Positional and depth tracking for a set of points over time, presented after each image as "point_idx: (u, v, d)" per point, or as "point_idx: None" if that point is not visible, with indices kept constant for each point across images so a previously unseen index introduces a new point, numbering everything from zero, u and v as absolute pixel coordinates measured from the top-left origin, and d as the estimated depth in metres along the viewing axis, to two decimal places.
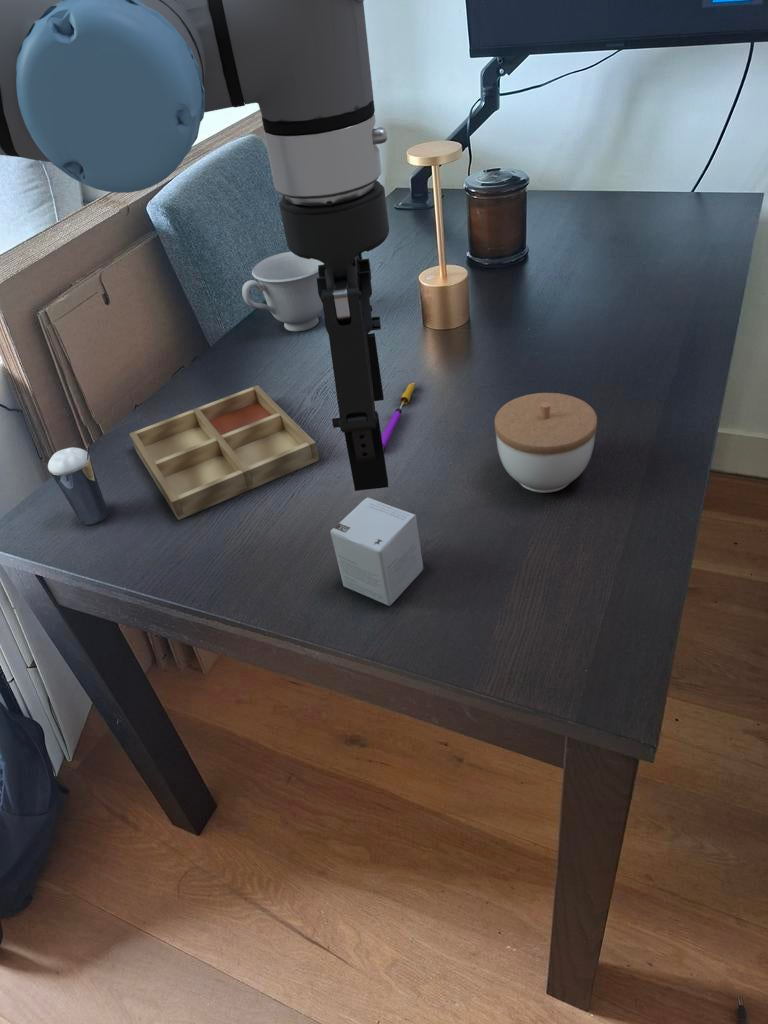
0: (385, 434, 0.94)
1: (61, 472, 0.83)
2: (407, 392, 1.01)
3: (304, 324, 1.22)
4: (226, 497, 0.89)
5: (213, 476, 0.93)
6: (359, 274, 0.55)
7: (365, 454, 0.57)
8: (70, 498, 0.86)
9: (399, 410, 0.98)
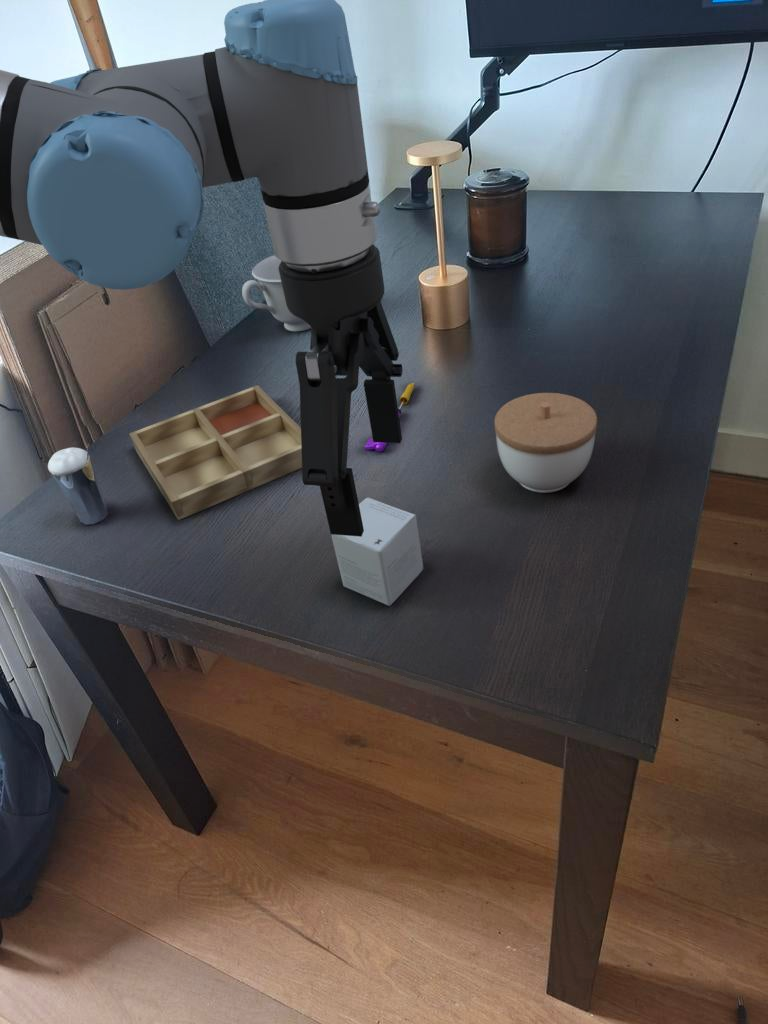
0: None
1: (61, 472, 0.83)
2: (407, 393, 1.01)
3: (304, 324, 1.22)
4: (226, 497, 0.89)
5: (213, 476, 0.93)
6: (350, 335, 0.57)
7: (334, 505, 0.60)
8: (70, 498, 0.86)
9: (398, 410, 0.98)
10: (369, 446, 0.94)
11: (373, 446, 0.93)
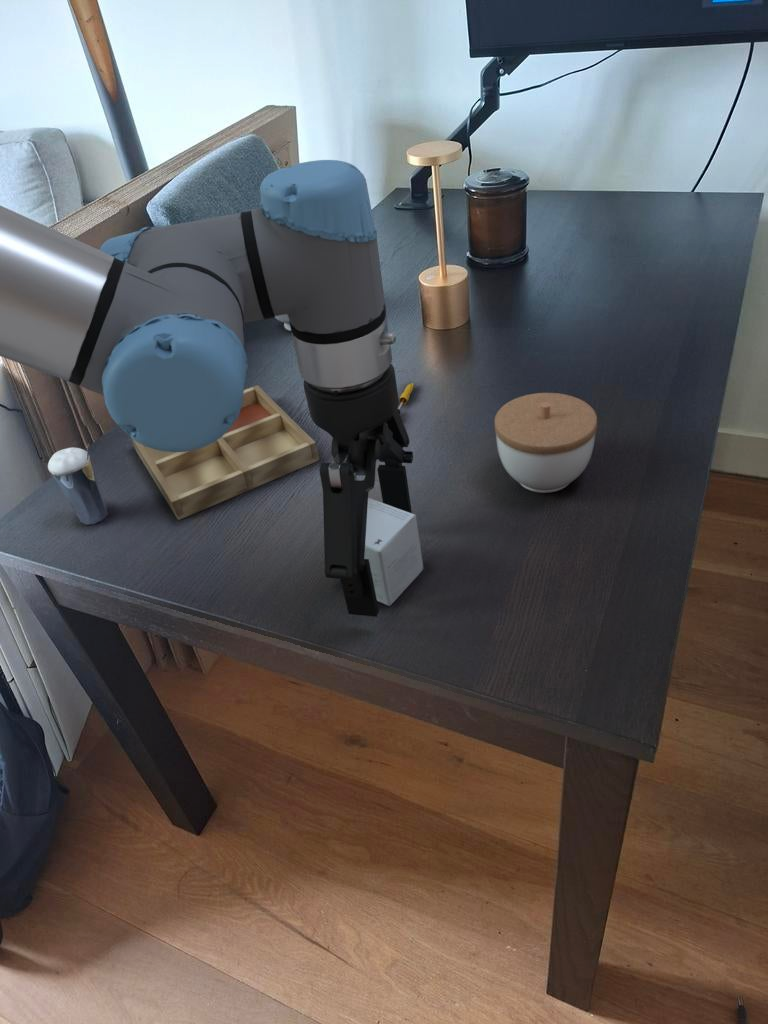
0: None
1: (61, 472, 0.83)
2: (406, 393, 1.02)
3: None
4: (226, 497, 0.89)
5: (213, 476, 0.93)
6: (367, 441, 0.64)
7: (353, 591, 0.66)
8: (70, 498, 0.86)
9: (398, 410, 0.98)
10: None
11: None
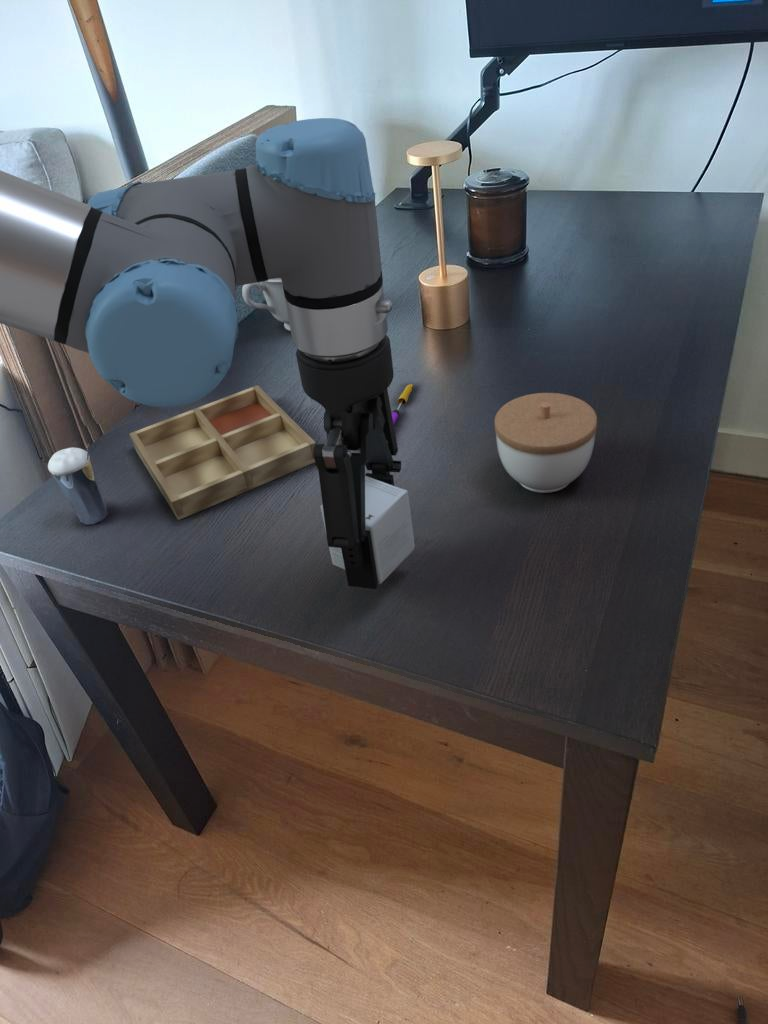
0: None
1: (61, 472, 0.83)
2: (405, 393, 1.02)
3: None
4: (226, 497, 0.89)
5: (213, 476, 0.93)
6: (360, 415, 0.62)
7: (353, 562, 0.67)
8: (70, 498, 0.86)
9: (396, 411, 0.99)
10: None
11: None
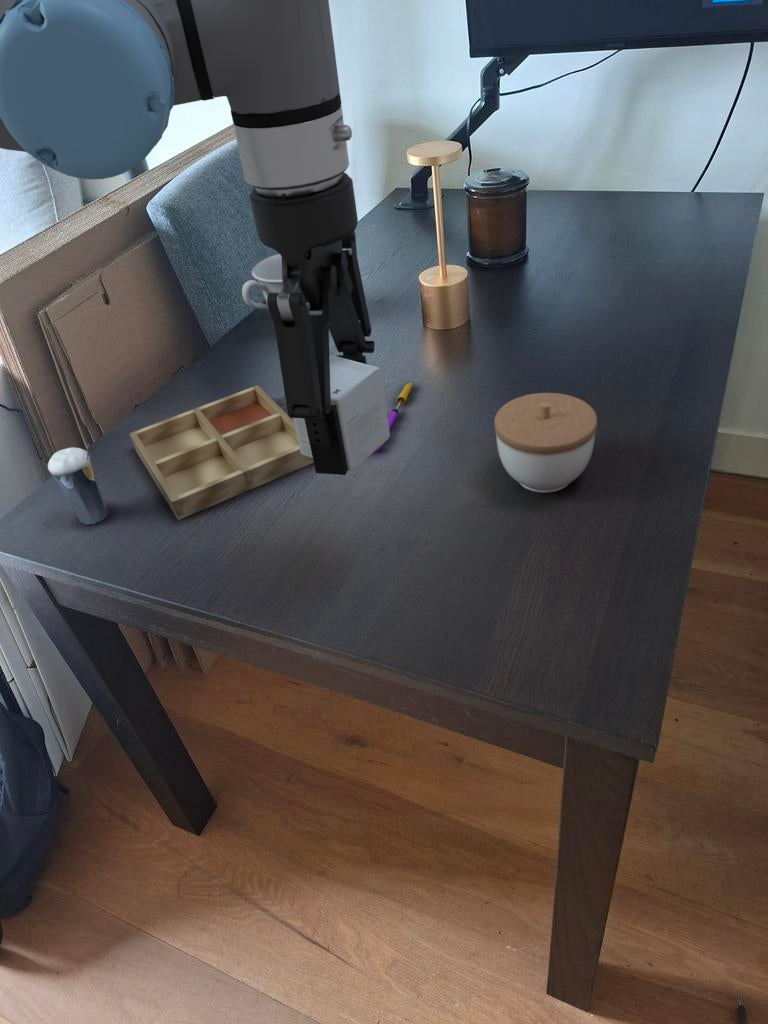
0: None
1: (61, 472, 0.83)
2: (404, 392, 1.02)
3: None
4: (226, 497, 0.89)
5: (213, 476, 0.93)
6: (322, 267, 0.56)
7: (319, 441, 0.62)
8: (70, 498, 0.86)
9: (396, 410, 0.99)
10: None
11: None
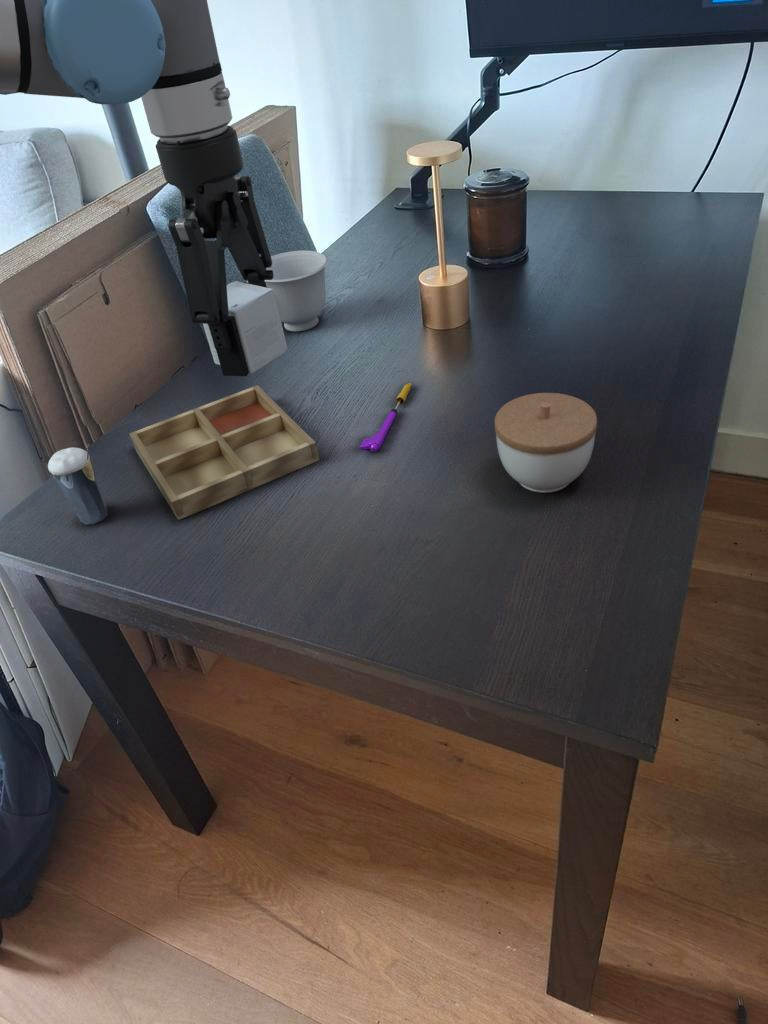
0: (380, 434, 0.94)
1: (61, 472, 0.83)
2: (403, 393, 1.02)
3: (304, 324, 1.22)
4: (226, 497, 0.89)
5: (213, 476, 0.93)
6: (215, 202, 0.72)
7: (221, 345, 0.77)
8: (70, 498, 0.86)
9: (394, 410, 0.99)
10: (364, 446, 0.94)
11: (368, 446, 0.94)
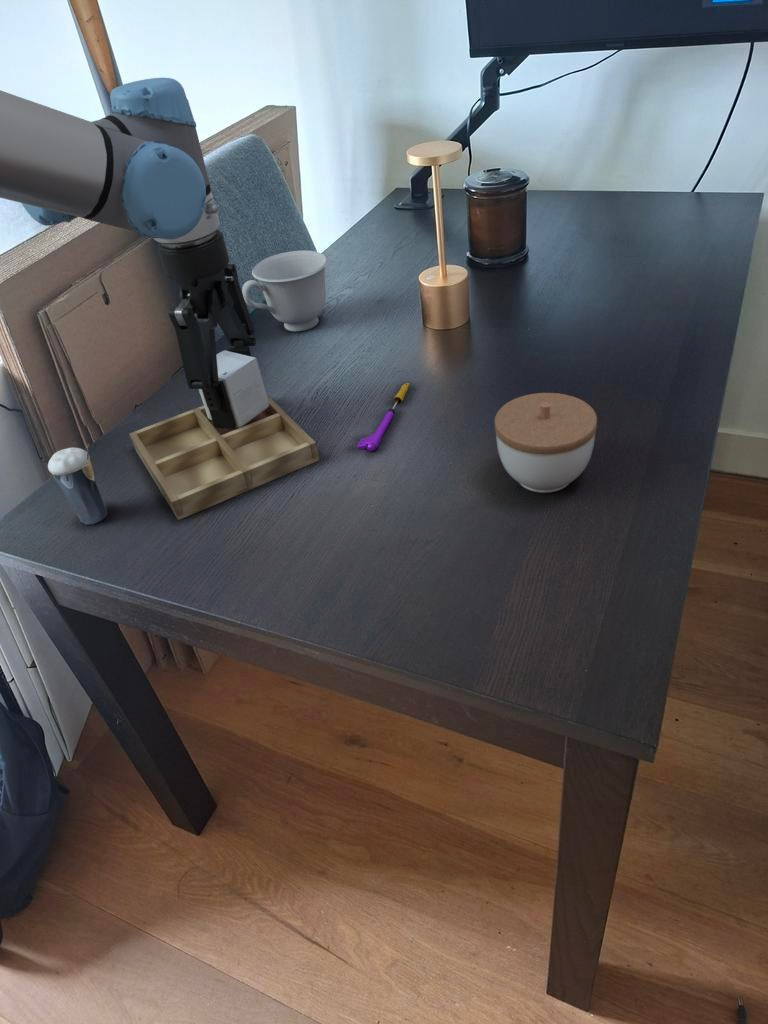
0: (377, 434, 0.94)
1: (61, 472, 0.83)
2: (401, 392, 1.02)
3: (304, 324, 1.22)
4: (226, 497, 0.89)
5: (213, 476, 0.93)
6: (206, 291, 0.88)
7: (212, 405, 0.93)
8: (70, 498, 0.86)
9: (392, 410, 0.99)
10: (361, 445, 0.94)
11: (365, 445, 0.94)
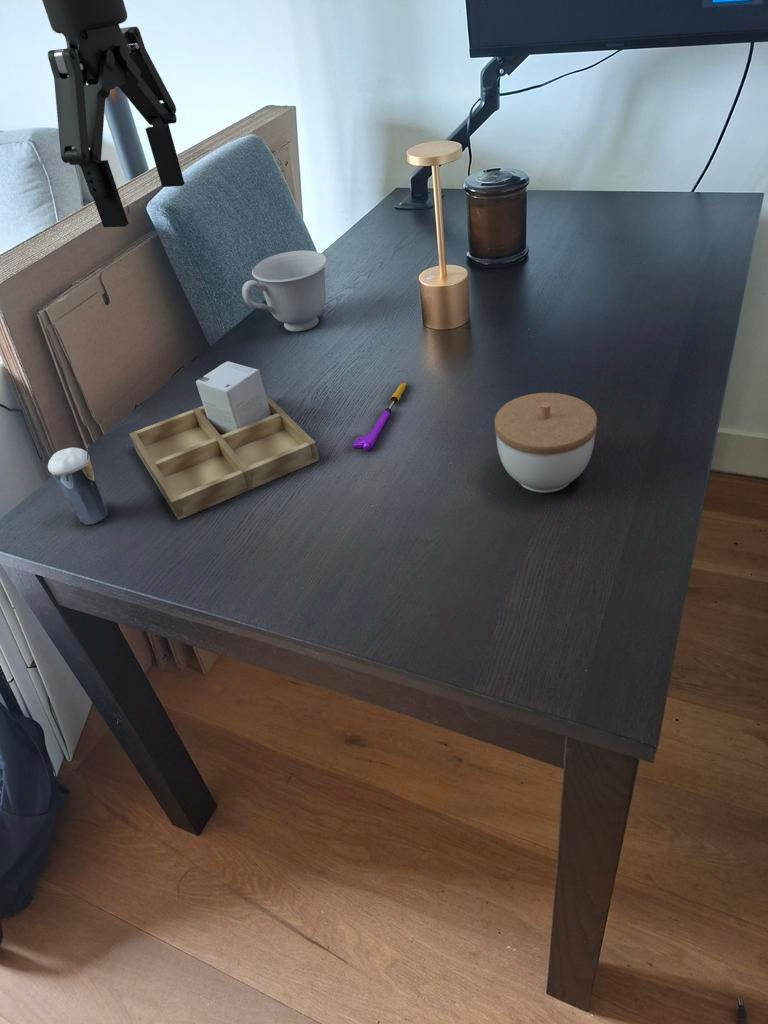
0: (373, 433, 0.95)
1: (61, 472, 0.83)
2: (398, 392, 1.02)
3: (304, 324, 1.22)
4: (226, 497, 0.89)
5: (213, 476, 0.93)
6: (101, 51, 0.76)
7: (96, 190, 0.78)
8: (70, 498, 0.86)
9: (388, 409, 0.99)
10: (357, 445, 0.94)
11: (361, 445, 0.94)
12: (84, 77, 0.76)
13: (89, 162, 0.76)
